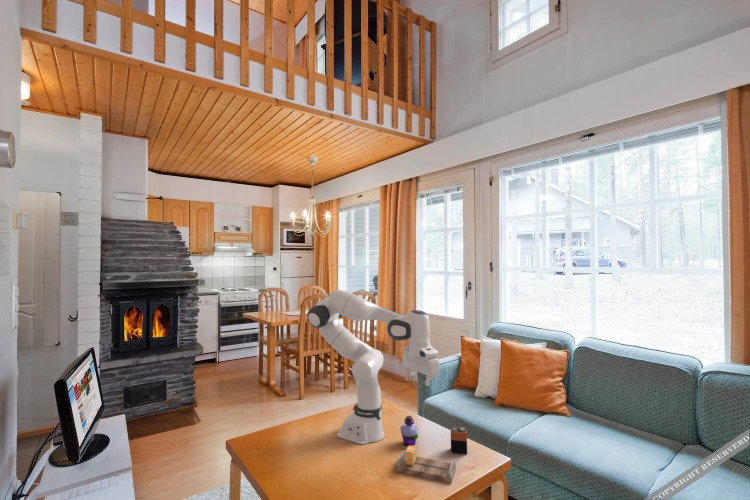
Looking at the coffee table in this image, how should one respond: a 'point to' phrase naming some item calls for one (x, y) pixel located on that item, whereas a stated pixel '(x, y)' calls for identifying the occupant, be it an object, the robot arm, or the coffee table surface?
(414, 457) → the fader knob
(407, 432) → the potion bottle
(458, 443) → the battery
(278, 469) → the coffee table surface
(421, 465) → the fader board
